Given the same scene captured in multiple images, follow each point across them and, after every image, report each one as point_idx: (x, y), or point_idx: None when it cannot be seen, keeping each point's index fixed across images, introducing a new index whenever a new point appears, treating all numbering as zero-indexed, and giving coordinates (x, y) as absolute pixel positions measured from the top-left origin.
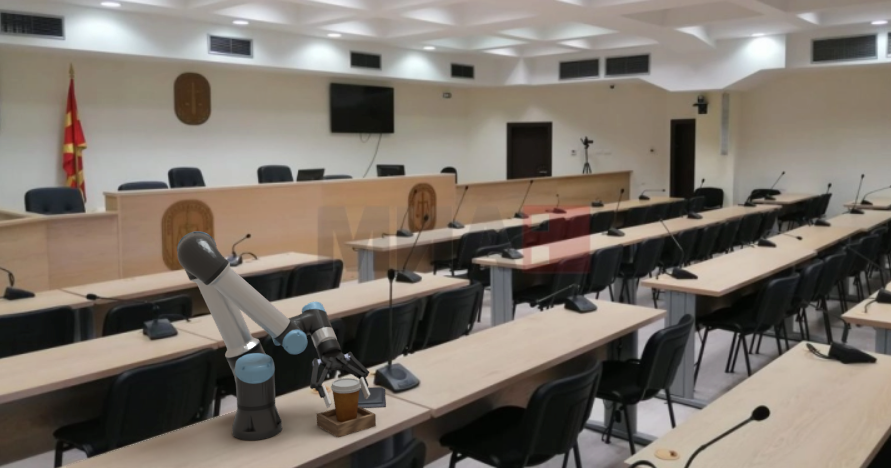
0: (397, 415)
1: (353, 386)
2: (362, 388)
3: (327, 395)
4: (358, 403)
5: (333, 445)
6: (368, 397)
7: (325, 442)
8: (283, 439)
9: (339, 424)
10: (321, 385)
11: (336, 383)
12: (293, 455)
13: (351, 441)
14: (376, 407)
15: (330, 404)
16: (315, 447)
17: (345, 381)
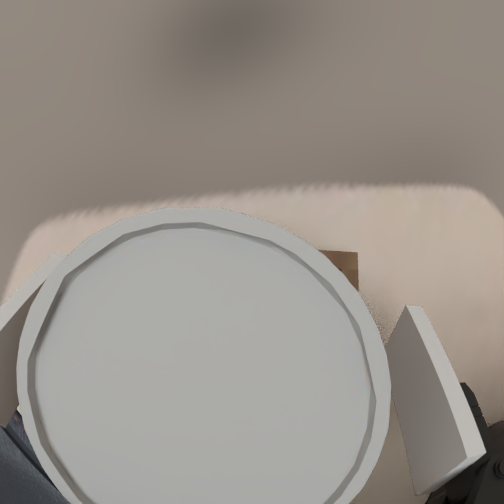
0: (15, 278)
1: (197, 211)
2: None
3: (439, 358)
4: (54, 486)
5: (387, 213)
6: (5, 483)
7: (399, 259)
8: (480, 387)
9: (345, 253)
10: (475, 473)
11: (291, 489)
12: (498, 244)
13: (316, 193)
14: (17, 411)
15: (402, 319)
16: (440, 246)
17: (142, 473)
